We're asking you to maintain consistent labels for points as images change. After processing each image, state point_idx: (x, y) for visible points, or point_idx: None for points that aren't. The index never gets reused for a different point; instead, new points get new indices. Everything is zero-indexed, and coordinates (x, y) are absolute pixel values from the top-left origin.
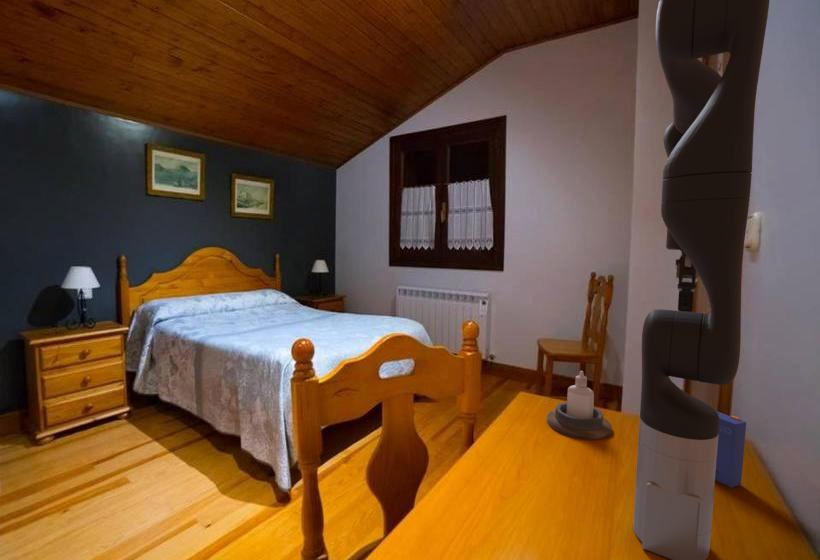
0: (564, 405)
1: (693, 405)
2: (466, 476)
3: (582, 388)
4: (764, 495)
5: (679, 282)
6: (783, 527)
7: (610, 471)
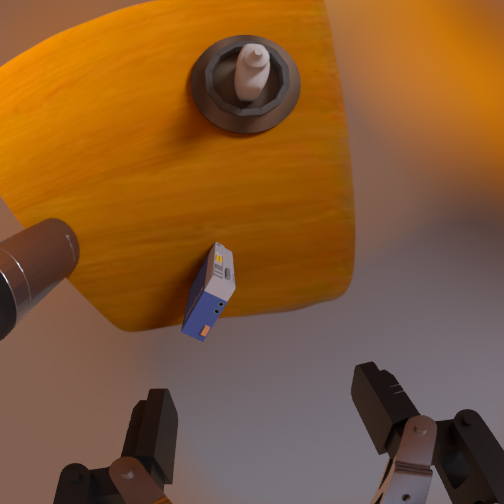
0: None
1: None
2: (26, 63)
3: (243, 68)
4: None
5: (60, 487)
6: (148, 323)
7: (125, 166)
